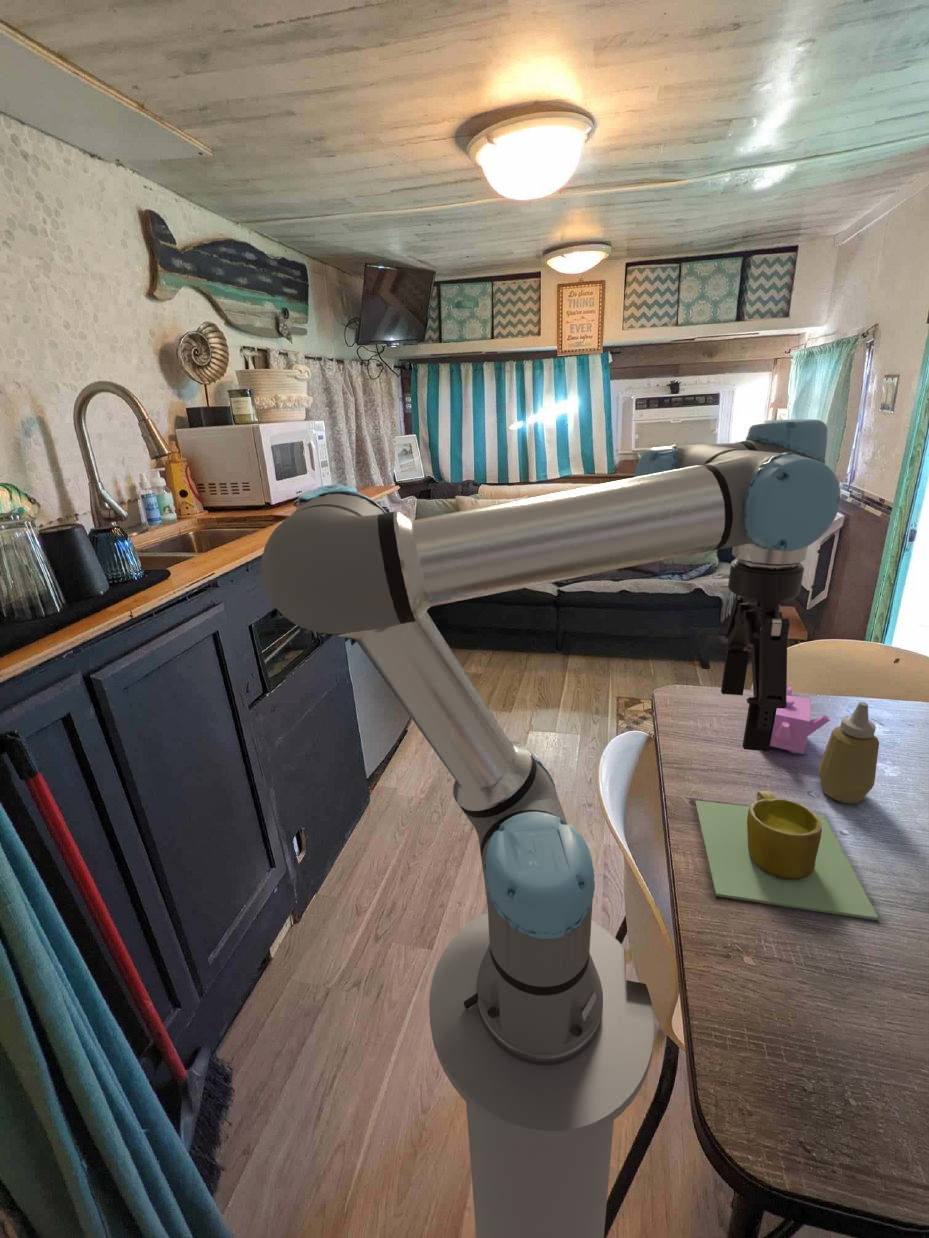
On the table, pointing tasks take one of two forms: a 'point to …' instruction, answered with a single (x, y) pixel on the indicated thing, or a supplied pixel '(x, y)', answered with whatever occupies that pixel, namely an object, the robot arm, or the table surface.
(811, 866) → the mug
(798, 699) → the teapot
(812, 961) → the table surface
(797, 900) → the mat
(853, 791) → the squeeze bottle
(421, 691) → the robot arm
